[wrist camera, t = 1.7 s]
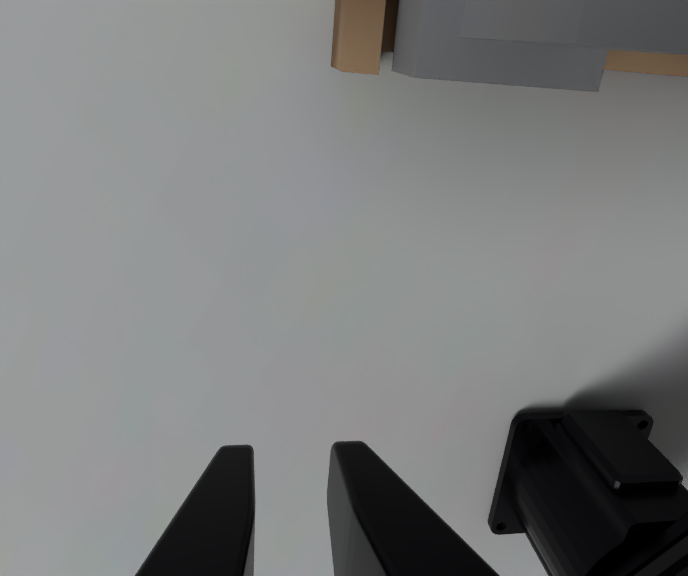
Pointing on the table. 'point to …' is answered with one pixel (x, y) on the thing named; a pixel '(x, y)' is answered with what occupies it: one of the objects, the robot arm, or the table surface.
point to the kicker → (531, 39)
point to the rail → (380, 28)
